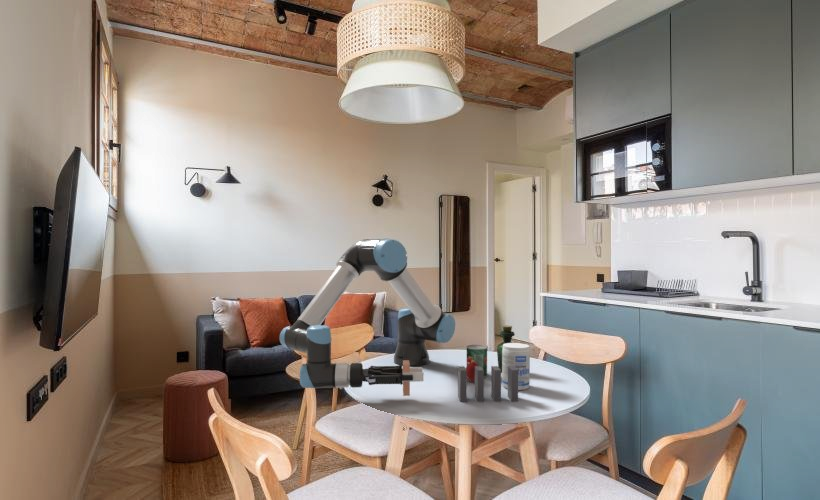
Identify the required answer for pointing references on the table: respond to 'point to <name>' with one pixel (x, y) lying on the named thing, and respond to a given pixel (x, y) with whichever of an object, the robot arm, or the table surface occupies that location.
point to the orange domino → (406, 384)
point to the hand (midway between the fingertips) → (422, 374)
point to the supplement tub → (516, 363)
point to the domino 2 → (479, 384)
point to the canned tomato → (478, 356)
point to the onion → (471, 371)
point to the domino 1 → (462, 384)
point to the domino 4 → (512, 383)
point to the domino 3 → (496, 383)
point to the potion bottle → (507, 338)
